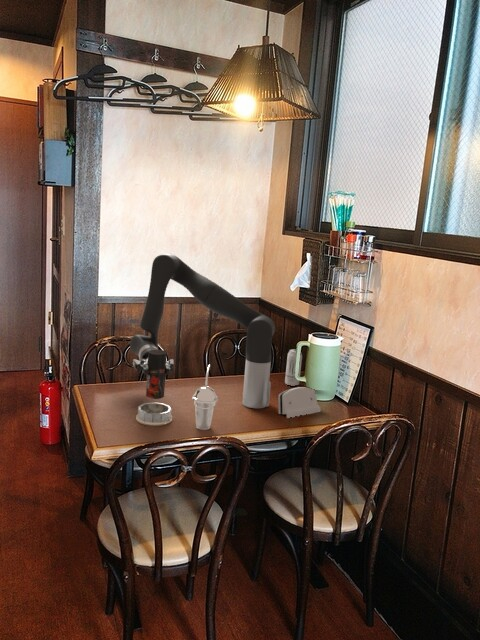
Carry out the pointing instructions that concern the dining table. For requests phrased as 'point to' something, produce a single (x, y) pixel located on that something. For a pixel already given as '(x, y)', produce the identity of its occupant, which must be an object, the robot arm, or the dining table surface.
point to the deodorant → (156, 374)
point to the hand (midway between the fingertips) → (157, 371)
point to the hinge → (298, 402)
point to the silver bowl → (154, 414)
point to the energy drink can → (292, 368)
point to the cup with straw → (204, 405)
